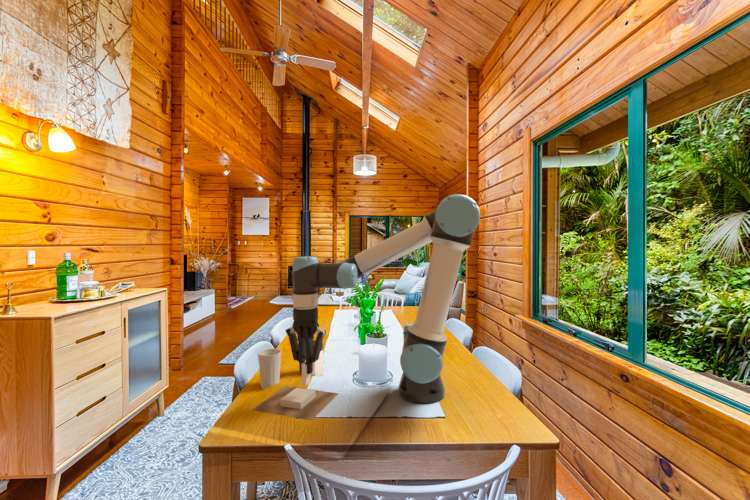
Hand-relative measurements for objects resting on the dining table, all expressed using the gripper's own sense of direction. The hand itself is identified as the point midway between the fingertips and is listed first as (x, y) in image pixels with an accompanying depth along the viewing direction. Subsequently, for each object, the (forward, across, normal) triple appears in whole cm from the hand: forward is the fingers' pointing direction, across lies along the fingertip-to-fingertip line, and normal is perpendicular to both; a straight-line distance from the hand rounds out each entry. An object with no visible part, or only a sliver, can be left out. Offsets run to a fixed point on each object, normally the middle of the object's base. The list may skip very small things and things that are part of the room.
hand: (306, 383), depth 108 cm
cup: (+8, +20, -10) cm, 24 cm away
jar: (+7, +11, -24) cm, 28 cm away
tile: (+5, -1, 0) cm, 5 cm away
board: (+7, +3, 0) cm, 8 cm away
